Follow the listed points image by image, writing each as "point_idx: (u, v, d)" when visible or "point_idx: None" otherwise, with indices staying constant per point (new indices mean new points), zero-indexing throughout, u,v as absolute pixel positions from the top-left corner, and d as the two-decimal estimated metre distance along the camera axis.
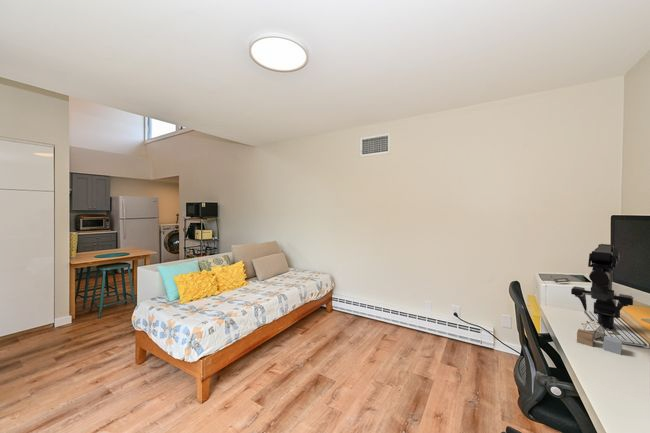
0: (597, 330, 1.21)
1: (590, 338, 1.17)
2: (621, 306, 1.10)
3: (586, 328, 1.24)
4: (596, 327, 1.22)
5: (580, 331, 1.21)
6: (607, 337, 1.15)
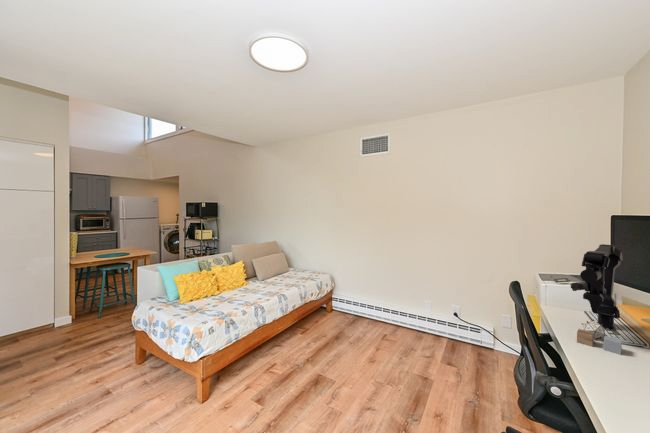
0: (597, 330, 1.21)
1: (590, 338, 1.17)
2: None
3: (586, 328, 1.24)
4: (596, 327, 1.22)
5: (580, 331, 1.21)
6: (607, 337, 1.15)
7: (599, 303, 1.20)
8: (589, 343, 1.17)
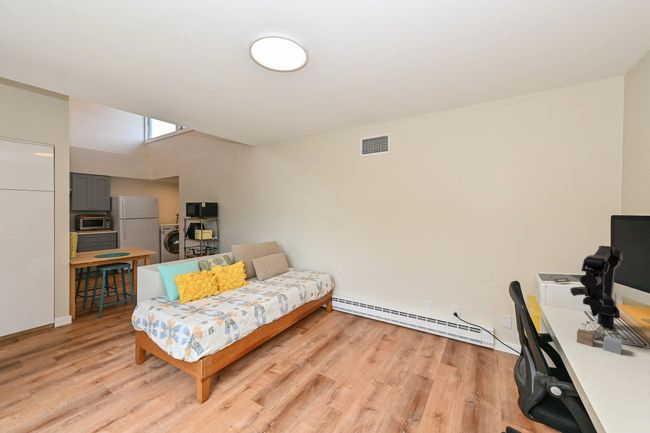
0: (597, 330, 1.21)
1: (590, 338, 1.17)
2: None
3: (586, 328, 1.24)
4: (596, 328, 1.22)
5: (580, 331, 1.21)
6: (607, 337, 1.15)
7: (599, 307, 1.21)
8: (589, 343, 1.17)
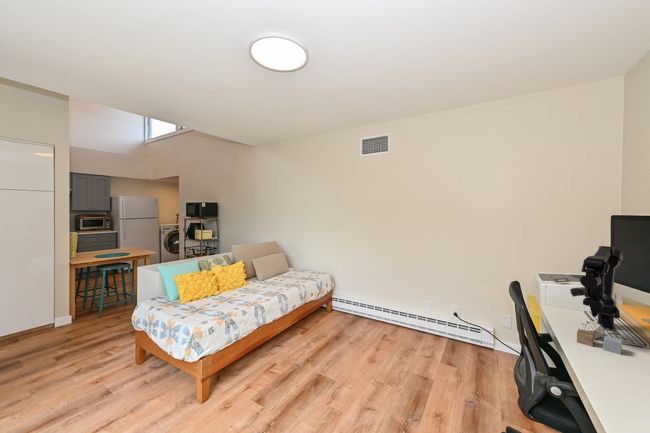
0: (597, 330, 1.21)
1: (590, 338, 1.17)
2: None
3: (586, 328, 1.24)
4: (596, 327, 1.22)
5: (580, 331, 1.21)
6: (607, 337, 1.15)
7: (599, 308, 1.21)
8: (589, 343, 1.17)
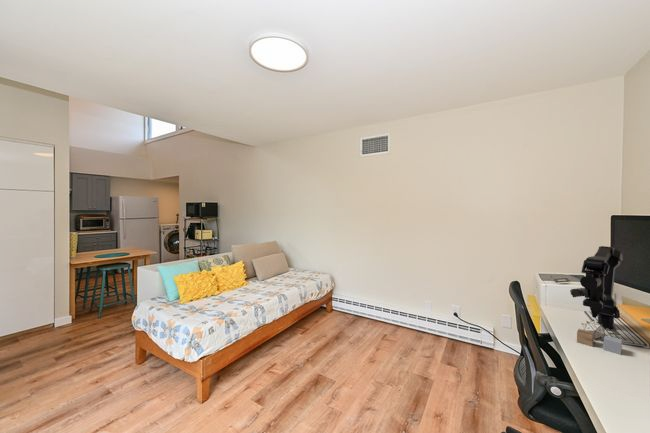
0: (597, 330, 1.21)
1: (590, 338, 1.17)
2: None
3: (586, 328, 1.24)
4: (596, 327, 1.22)
5: (580, 331, 1.21)
6: (607, 337, 1.15)
7: (599, 309, 1.21)
8: (589, 343, 1.17)
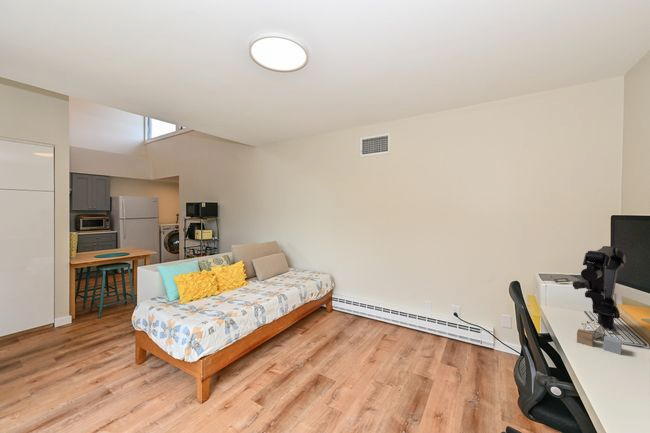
0: (597, 330, 1.21)
1: (590, 338, 1.17)
2: None
3: (586, 328, 1.24)
4: (596, 327, 1.22)
5: (580, 331, 1.21)
6: (607, 337, 1.15)
7: (601, 300, 1.24)
8: (589, 343, 1.17)
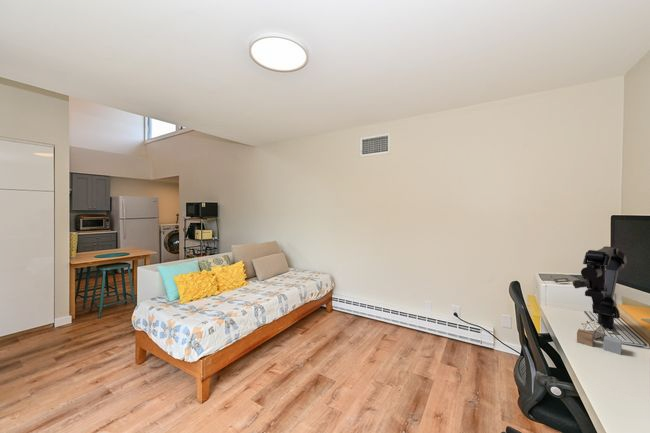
0: (597, 330, 1.21)
1: (590, 338, 1.17)
2: None
3: (586, 328, 1.24)
4: (596, 327, 1.22)
5: (580, 331, 1.21)
6: (607, 337, 1.15)
7: (601, 299, 1.25)
8: (589, 343, 1.17)
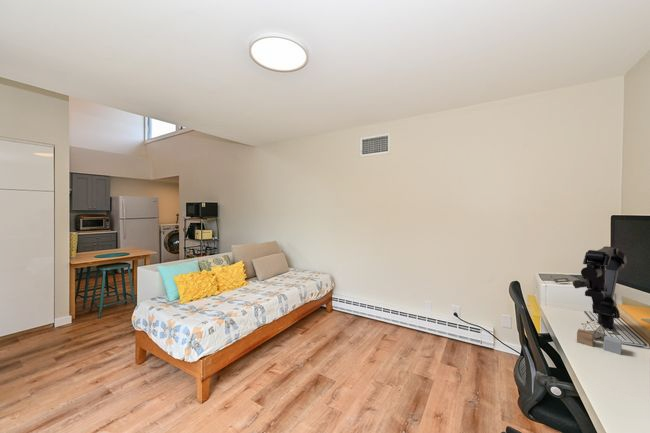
0: (597, 330, 1.21)
1: (590, 338, 1.17)
2: None
3: (586, 328, 1.24)
4: (596, 328, 1.22)
5: (580, 331, 1.21)
6: (607, 337, 1.15)
7: (601, 299, 1.25)
8: (589, 343, 1.17)
